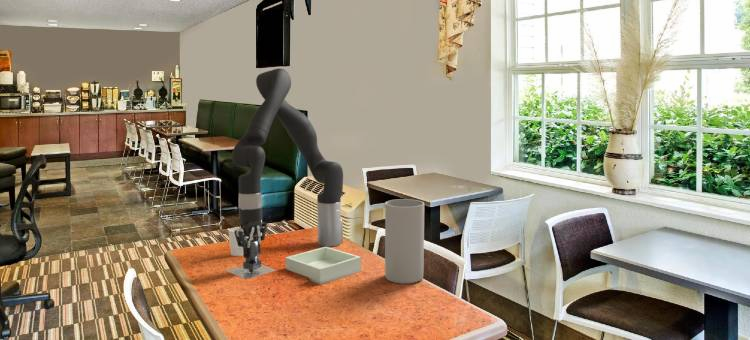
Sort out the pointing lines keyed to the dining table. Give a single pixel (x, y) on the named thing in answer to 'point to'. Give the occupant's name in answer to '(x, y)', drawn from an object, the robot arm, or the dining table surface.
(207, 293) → the dining table surface
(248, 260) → the dark grey stamp
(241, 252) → the white cup
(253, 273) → the stud plate
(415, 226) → the cylinder vase
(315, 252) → the sage bin
